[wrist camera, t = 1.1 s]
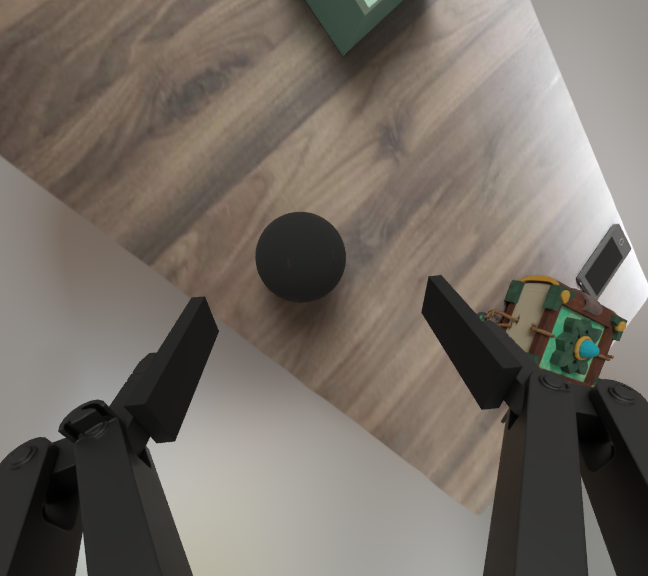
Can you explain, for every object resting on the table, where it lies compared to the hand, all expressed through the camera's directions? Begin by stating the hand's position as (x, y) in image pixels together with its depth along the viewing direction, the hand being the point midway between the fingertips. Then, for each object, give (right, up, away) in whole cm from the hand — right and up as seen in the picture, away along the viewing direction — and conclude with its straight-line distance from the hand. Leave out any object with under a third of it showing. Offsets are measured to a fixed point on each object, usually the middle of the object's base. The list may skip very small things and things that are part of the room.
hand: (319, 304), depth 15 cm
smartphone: (+59, +6, +38) cm, 71 cm away
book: (+38, -8, +34) cm, 51 cm away
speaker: (-4, +5, +18) cm, 19 cm away
